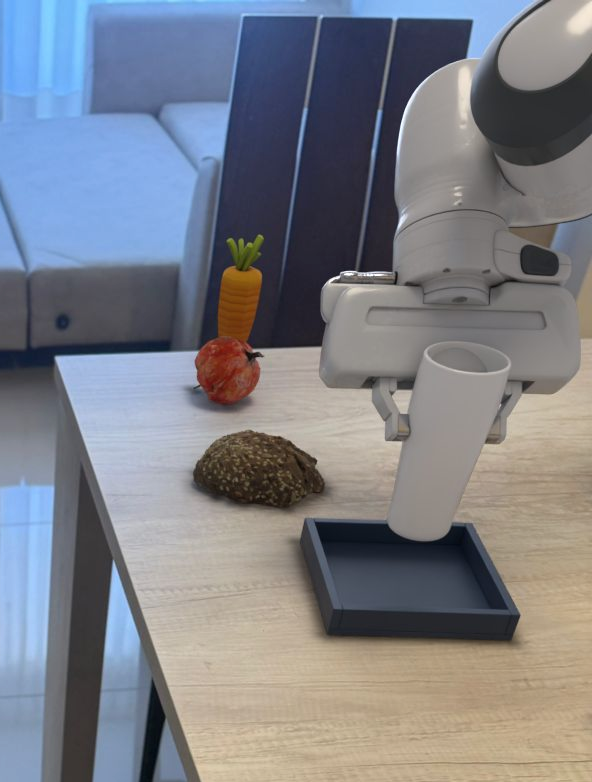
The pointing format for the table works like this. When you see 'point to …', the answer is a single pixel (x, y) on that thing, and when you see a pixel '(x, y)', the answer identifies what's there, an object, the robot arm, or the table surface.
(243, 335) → the carrot
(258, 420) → the table surface
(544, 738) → the table surface
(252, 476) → the bread roll
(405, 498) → the white cup
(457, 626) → the dark blue-gray tray
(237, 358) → the pomegranate
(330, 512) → the table surface
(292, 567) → the table surface
